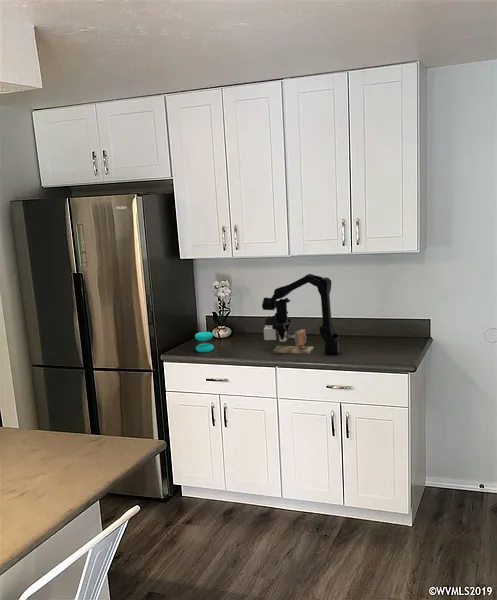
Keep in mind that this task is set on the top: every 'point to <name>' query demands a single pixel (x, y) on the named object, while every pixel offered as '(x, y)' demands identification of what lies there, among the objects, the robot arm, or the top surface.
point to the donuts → (202, 337)
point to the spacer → (302, 337)
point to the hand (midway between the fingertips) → (283, 338)
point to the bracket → (293, 347)
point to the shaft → (288, 336)
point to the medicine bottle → (270, 332)
